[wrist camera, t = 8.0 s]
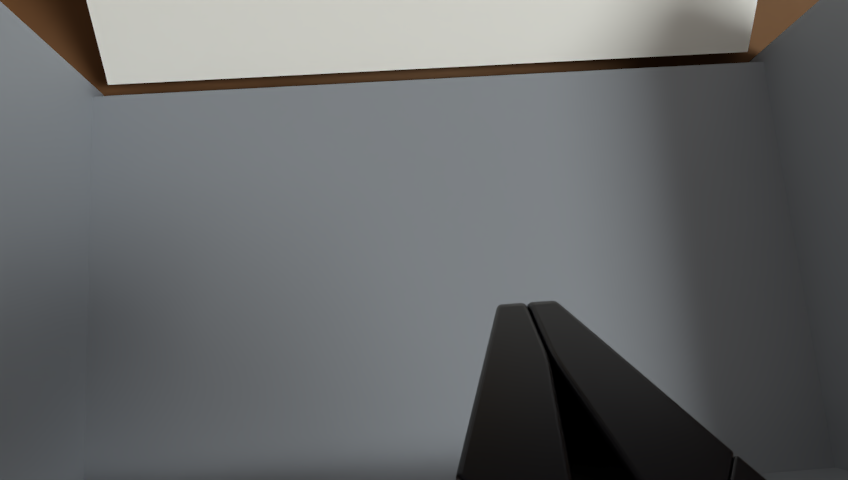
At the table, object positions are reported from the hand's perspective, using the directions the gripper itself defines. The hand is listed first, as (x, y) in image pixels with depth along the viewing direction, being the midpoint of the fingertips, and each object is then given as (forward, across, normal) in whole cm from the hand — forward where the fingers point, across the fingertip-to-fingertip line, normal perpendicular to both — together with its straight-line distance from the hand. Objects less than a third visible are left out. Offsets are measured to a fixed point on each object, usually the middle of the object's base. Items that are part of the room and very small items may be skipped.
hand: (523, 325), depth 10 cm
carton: (+10, 0, +7) cm, 13 cm away
